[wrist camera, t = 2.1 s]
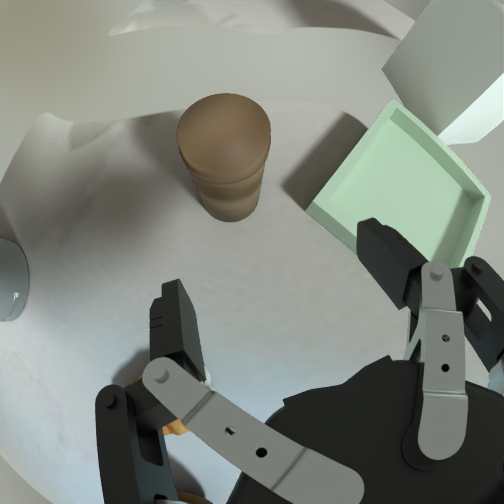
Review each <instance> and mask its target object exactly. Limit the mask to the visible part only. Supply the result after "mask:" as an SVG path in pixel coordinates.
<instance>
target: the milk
mask: <svg viewBox="0 0 504 504" xmlns="http://www.w3.org/2000/svg"><path fill="white" fill-rule="evenodd" d="M382 70H383V72H384V74H385V75H386V76H387V78H388V80H389V81H390V83H391V84H392V86H393V88H394V89H395V91H396V93H397V94H398V96H399V97H400V99H401V101H402V103H403V104H404V106H405V108H406V109H408V110H409V111H410V112H411V113H412V114H413V115H415V116H416V117H417V118H418V119H419V120H420V121H421V122H423V123H424V124H425V125H426V126H427V127H428V128H429V129H430V130H431V131H432V132H433V133H434V134H435V135H437V136H438V137H439V138H440V139H441V140H442V141H443V142H444V143H445V144H446V145H448V144H460V143H472V142H477V141H479V140H480V139H482V138H483V137H484V136H485V135H486V134H488V133H489V132H490V131H491V130H492V129H494V128H495V127H496V126H497V125H498V124H499V123H501V122H502V121H503V120H504V0H431V1H430V3H429V4H428V6H427V7H426V8H425V10H424V11H423V13H422V14H421V15H420V17H419V18H418V19H417V21H416V22H415V24H414V25H413V26H412V28H411V29H410V31H409V32H408V33H407V35H406V36H405V38H404V39H403V40H402V42H401V43H400V45H399V46H398V47H397V49H396V50H395V52H394V53H393V54H392V56H391V57H390V59H389V60H388V61H387V63H386V64H385V66H384V67H383V68H382Z"/></svg>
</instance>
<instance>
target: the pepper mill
mask: <svg viewBox="0 0 504 504" xmlns="http://www.w3.org/2000/svg"><path fill="white" fill-rule="evenodd" d="M270 132H271V128H270V122H269V119H268V116H267V114H266V113H265V111H264V110H263V109H262V107H261V106H259V105H258V104H257V103H256V102H254V101H253V100H251V99H249V98H247V97H244V96H241V95H237V94H229V93H225V94H215V95H211V96H208V97H205V98H203V99H201V100H199V101H197V102H195V103H194V104H193V105H191V106H190V107H189V108H188V109H187V110H186V111H185V113H184V114H183V115H182V117H181V119H180V121H179V124H178V127H177V141H178V145H179V151H180V154H181V156H182V159H183V161H184V163H185V165H186V167H187V168H188V169H189V171H190V173H191V176H192V178H193V181H194V183H195V185H196V188H197V190H198V192H199V195H200V197H201V199H202V202H203V204H204V206H205V208H206V210H207V211H208V213H209V214H210V215H211V216H213V217H214V218H216V219H218V220H220V221H223V222H237V221H240V220H243V219H245V218H246V217H248V216H249V215H250V214H251V213H252V212H253V211H254V209H255V208H256V206H257V203H258V199H259V194H260V188H261V183H262V177H263V172H264V166H265V161H266V159H267V157H268V153H269V149H270V143H271V135H270Z"/></svg>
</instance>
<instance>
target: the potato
mask: <svg viewBox="0 0 504 504" xmlns="http://www.w3.org/2000/svg"><path fill="white" fill-rule="evenodd" d="M176 492H177V496H178V499H179V501H181V502H185V503H188V504H213V503H212V502H210V501H208V500H207V499H205V498H203V497H200V496H198V495H195V494H191V493H187V492H182V491H176Z"/></svg>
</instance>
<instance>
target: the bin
mask: <svg viewBox="0 0 504 504" xmlns="http://www.w3.org/2000/svg"><path fill="white" fill-rule="evenodd" d="M490 200H491V196H490V194H489V193H488V192H487V190H486V189H485V188H484V187H483V185H482V184H481V183H480V182H479V181H478V179H477V178H476V177H475V176H474V175H473V173H472V172H471V171H470V170H469V169H468V168H467V167H466V166H465V164H464V163H463V162H462V161H461V160H460V159H459V158H458V157H457V156H456V155H455V154H454V153H453V152H452V150H451V149H450V148H449V147H448V146H447V145H446V144H445V143H444V142H443V141H442V140H441V139H440V138H439V137H438V136H437V135H435V134H434V133H433V132H432V131H431V130H430V129H429V128H428V127H427V126H426V125H425V124H424V123H423V122H421V121H420V120H419V119H418V118H417V117H416V116H415V115H413V114H412V113H411V112H410V111H409V110H408V109H406V108H405V107H404V106H403V105H401V104H400V103H399V102H397V101H396V100H395V99H394V98H392V99H391V100H390V101H389V103H388V104H387V105H386V107H385V108H384V109H383V111H382V112H381V113H380V114H379V116H378V117H377V119H376V120H375V121H374V122H373V124H372V125H371V126H370V128H369V129H368V130H367V132H366V133H365V134H364V136H363V137H362V138H361V139H360V141H359V142H358V143H357V145H356V146H355V147H354V149H353V150H352V151H351V153H350V154H349V155H348V156H347V158H346V159H345V160H344V162H343V163H342V164H341V165H340V167H339V168H338V169H337V171H336V172H335V173H334V174H333V176H332V177H331V178H330V180H329V181H328V182H327V183H326V185H325V186H324V187H323V189H322V190H321V191H320V192H319V194H318V195H317V196H316V198H315V199H314V200H313V201H312V203H311V204H310V205H309V207H308V208H307V209H306V210H305V212H306V213H307V214H309V215H310V216H311V217H312V218H314V219H315V220H316V221H317V222H319V223H320V224H321V225H322V226H323V227H325V228H326V229H327V230H328V231H330V232H331V233H332V234H333V235H334V236H336V237H337V238H338V239H339V240H340V241H341V242H343V243H344V244H345V245H346V246H347V247H349V248H350V249H351V250H352V251H353V252H354V253H356V254H357V252H356V241H357V224H358V222H359V221H362V220H366V219H369V218H372V217H374V218H376V219H377V220H378V221H379V222H380V223H381V224H382V225H388V226H390V227H392V228H394V229H396V230H397V231H398V232H399V233H400V234H401V235H402V236H403V238H404V237H405V238H406V239H407V240H408V241H409V243H411V244H412V245H413V246H414V247H415V248H416V249H417V250H418V251H419V252H420V253H421V254H422V255H423V256H424V257H425V258H426V259H427V260H428V261H429V262H430V261H437V262H440V263H443V264H444V265H446V266H447V267H448V268H449V269H451V268H458V267H463V265H464V262H465V260H466V259H467V258H468V257H470V256H472V253H473V251H474V248H475V246H476V243H477V240H478V238H479V234H480V232H481V229H482V226H483V223H484V220H485V217H486V214H487V210H488V207H489V204H490Z"/></svg>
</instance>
